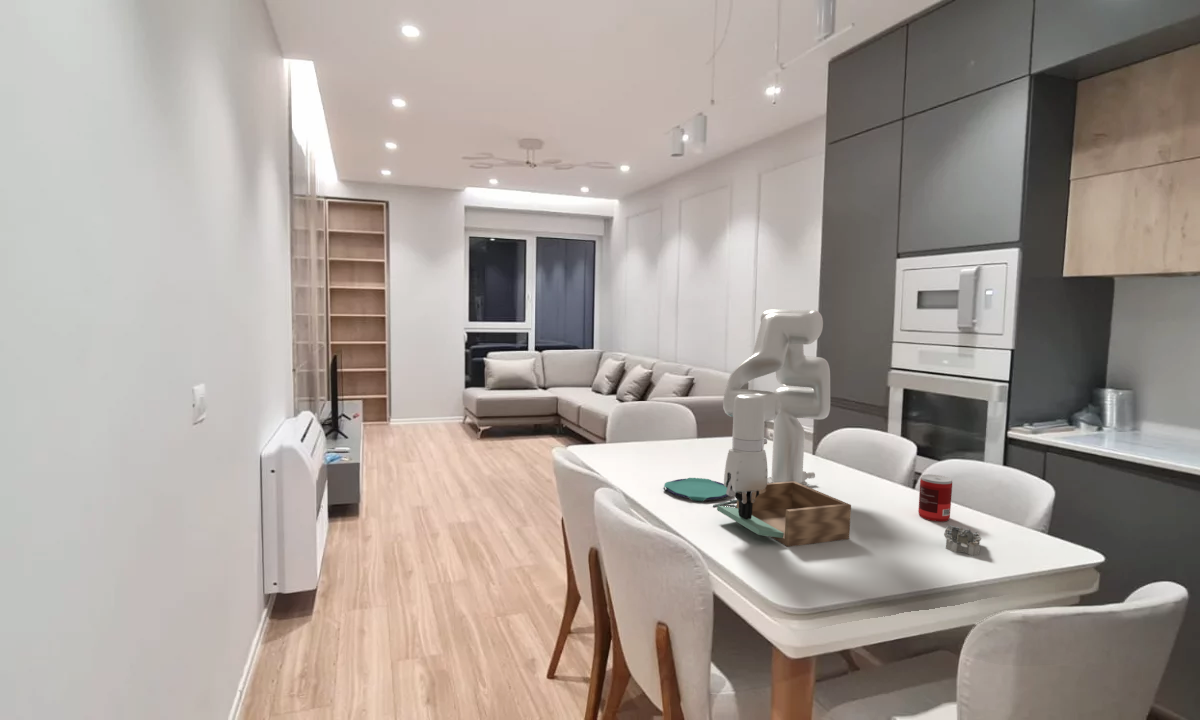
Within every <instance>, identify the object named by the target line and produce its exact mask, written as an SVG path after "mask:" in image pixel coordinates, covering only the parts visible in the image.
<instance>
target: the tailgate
mask: <svg viewBox="0 0 1200 720" xmlns="http://www.w3.org/2000/svg"><path fill="white" fill-rule="evenodd" d="M738 509H739V508H737V507H736V508H734V507H725V506H724V505H721V506H717V507H716V511H718V512H720V513H721V514H723V515H724V516H726V517H728V518H730V519H731V520H733V521H734V522H736V523H738V524H740V526H743V527H745V528H746V529H748V530H750V531H751V532H753V533H754V534H756V535H758V536H765V537H770V536H771V538H772V537H779V538H783V535H784V533H783V532H781V531H779V530H778V529H776V528H774V527H772V526H770V525H769V524H767V523H765V522H763V521H761V520H760V519H758V518H756V517H754V516H752V518H751V519H744V518H742V517H740V516H739V513H738Z"/></svg>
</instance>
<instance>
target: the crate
mask: <svg viewBox="0 0 1200 720" xmlns="http://www.w3.org/2000/svg"><path fill="white" fill-rule="evenodd" d="M765 489H766V491H765V492H764V493H762V494H759V495H758V496H757V497H756V498H755V502H754V503H753V505H752V516H754V517H756V518H758V519H760V520H761V521H763V522H765V523H767V524H769V525H770V526H772V527H774V528H776V529H778V530H779V531H781V532H783V533H784V535H783V538H779V537H771V536H769V537H771V538H772V539H773V540H775V541H777V542H779V543H781V544H782V545H784V546H785V547H795V546H796V547H797V546H803V545H804V546H805V545H811V544H813V545H814V544H821V543H827V542H836V541H837V542H838V541H843V540H844V541H846V540H850V531H851V513H852V504H851V503H848V502H845V501H842V500H841V499H838V498H836V497H833V496H831V495H828V494H826V493H824V492H822V491H819V490H816V489H814V488H812V487H809V486H808V485H807V486H805V485H802V484H800V483H797V482H795V481H789V482H777V483H767V486H766V488H765ZM736 500H737V499H736ZM736 505H737V507H736V508H739V501H738V500H737V502H736Z"/></svg>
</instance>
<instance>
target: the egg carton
mask: <svg viewBox="0 0 1200 720" xmlns="http://www.w3.org/2000/svg"><path fill="white" fill-rule="evenodd" d="M943 536H944V537H945V549H946V550H950V551H951V552H954V553H957V552H960V553H961V552H963V553H966V554H967V555H969V556H975V555H977V556H978V555H980V550H981V549H980V545H981V544H980V543H981V542H980V541H982V537H981V536H980V534H979V532H978V531H977V532H972V531H971V529H965V528H962V527H960V526H957V527H956V526H953V525H951V524H950V523H948V524H947V525H946V528H945V530H944V533H943ZM953 540H956V542H954V541H953Z"/></svg>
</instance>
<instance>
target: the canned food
mask: <svg viewBox="0 0 1200 720" xmlns="http://www.w3.org/2000/svg"><path fill="white" fill-rule="evenodd" d="M952 492H953V479H952V478H950V477H948V476H945V475H944V476H943V475H940V474H933V473H931V474H929V473H928V474H922V475H921V476H920V480H919V496H918V510H917V511H918V515H919V517H920V518H922V519H924V520H928V521H932V522H936V523H937V522H939V523H941V522H942V523H944V522H947V521H949V520H950V517H951V510H952V508H951V506H952V495H953V494H952Z"/></svg>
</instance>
